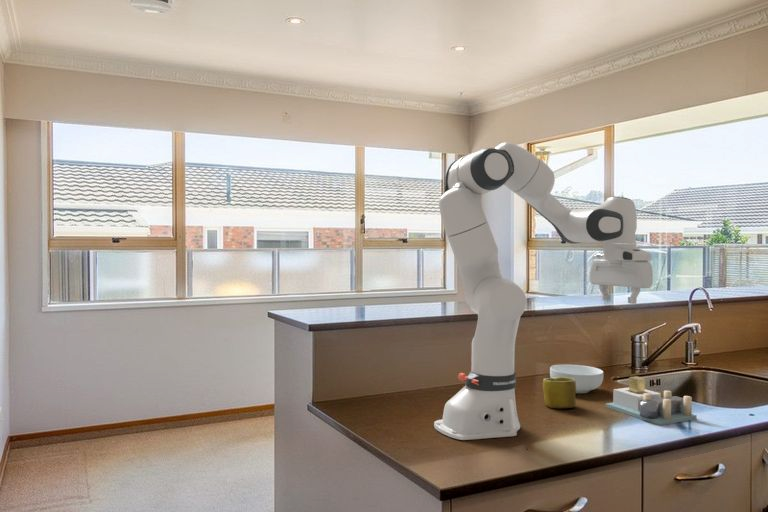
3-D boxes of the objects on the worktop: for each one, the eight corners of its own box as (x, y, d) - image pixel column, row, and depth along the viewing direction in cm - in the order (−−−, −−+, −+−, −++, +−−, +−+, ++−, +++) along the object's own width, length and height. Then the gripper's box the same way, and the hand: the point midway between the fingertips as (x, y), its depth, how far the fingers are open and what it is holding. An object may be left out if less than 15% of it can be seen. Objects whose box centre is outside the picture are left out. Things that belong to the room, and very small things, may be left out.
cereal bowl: (608, 398, 181) (608, 375, 181) (552, 395, 184) (552, 373, 184) (598, 385, 198) (598, 364, 198) (547, 383, 201) (547, 362, 200)
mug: (584, 406, 165) (573, 371, 167) (548, 415, 167) (537, 380, 170) (581, 403, 177) (571, 370, 179) (548, 411, 179) (538, 379, 181)
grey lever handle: (649, 419, 156) (650, 404, 156) (635, 415, 160) (636, 400, 160) (687, 413, 162) (687, 399, 162) (672, 409, 166) (673, 395, 166)
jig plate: (660, 425, 154) (660, 402, 154) (605, 406, 172) (605, 386, 171) (696, 418, 160) (696, 397, 160) (640, 401, 177) (640, 382, 177)
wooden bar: (637, 407, 168) (637, 379, 168) (628, 404, 171) (629, 377, 170) (644, 405, 169) (645, 378, 169) (636, 403, 172) (636, 376, 172)
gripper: (584, 253, 176) (584, 299, 176) (640, 254, 157) (639, 305, 158) (600, 253, 179) (599, 298, 179) (656, 254, 160) (656, 305, 160)
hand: (618, 302), depth 168 cm, fingers open, 8 cm apart
